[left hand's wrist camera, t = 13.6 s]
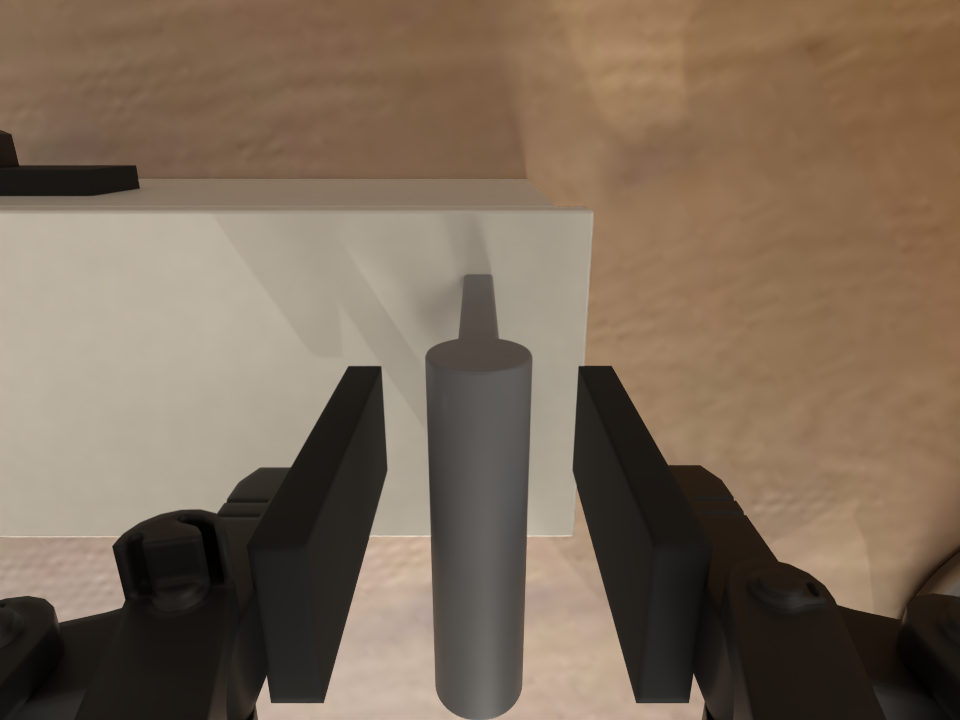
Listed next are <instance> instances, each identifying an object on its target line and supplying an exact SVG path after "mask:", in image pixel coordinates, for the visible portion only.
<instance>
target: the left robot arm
mask: <svg viewBox="0 0 960 720" xmlns="http://www.w3.org/2000/svg"><path fill="white" fill-rule="evenodd" d="M387 471H388V468H387V451H386V434H385V417H384V400H383V383H382V366H348V368H347V369H346V371H345V373H344V375H343V376H342V378H341V380H340V382H339V383H338V385H337V387H336V389H335V391H334V392H333V394H332V396H331V398H330V399H329V401H328V403H327V405H326V406H325V408H324V410H323V412H322V413H321V415H320V417H319V419H318V420H317V422H316V424H315V426H314V428H313V429H312V431H311V433H310V435H309V436H308V438H307V440H306V442H305V443H304V445H303V447H302V449H301V450H300V452H299V454H298V456H297V457H296V459H295V461H294V463H293V464H292V466H291V467H260V468H258V469H257V470H256V471H254V472H253V473H251V474H250V475H248V476H247V477H245V478H244V479H243V480H241V481H240V482H238V484H237V485H236V487H235V488H234V490H233V491H232V493H231V494H230V495H229V497H228V498H227V503H224V504H223V506H222V507H221V508H220V510H219V511H218V513H217V514H216V513H213V512H209V511H206V510H202V509H188V510H177V511H173V512H168V513H163V514H160V515H157V516H155V517H152V518H150V519H147V520H145V521H142V522H140V523H138V524H137V525H135V526H134V527H132V528H131V529H129V530H128V531H126V532H125V533H123V534H122V535H121V537H120V538H119V539H118V540H117V541H116V543H115V544H114V545H113V546H112V547H113V551H114V555H115V559H116V563H117V567H118V571H119V575H120V579H121V584H122V588H123V592H124V596H125V603H124V605H123V607H122V608H120V609H117V610H113V611H110V612H106V613H102V614H97V615H93V616H88V617H84V618H79V619H74V620H70V621H65V622H61V623H58V619H57V616H56V613H55V609H54V607H53V606H52V605H51V604H50V603H49V602H48V601H46V600H45V599H42V598H37V597H31V596H24V597H15V598H7V599H3V600H0V720H258V716H257V710H256V701H257V699H258V696H259V693H260V691H261V688H262V686H263V683H264V681H265V678H266V676H267V679H268V686H269V692H270V699H271V703H324V700H325V696H326V693H327V689H328V685H329V682H330V678H331V674H332V671H333V667H334V663H335V660H336V656H337V653H338V649H339V645H340V642H341V638H342V634H343V631H344V627H345V623H346V620H347V616H348V613H349V609H350V605H351V602H352V598H353V594H354V591H355V587H356V583H357V580H358V576H359V573H360V569H361V565H362V562H363V558H364V554H365V551H366V547H367V543H368V540H369V536H370V533H371V529H372V525H373V522H374V518H375V514H376V511H377V507H378V503H379V500H380V496H381V493H382V489H383V485H384V482H385V478H386V474H387ZM572 471H573V474H574V478H575V482H576V485H577V489H578V493H579V496H580V500H581V503H582V507H583V511H584V514H585V518H586V522H587V525H588V529H589V533H590V536H591V540H592V543H593V547H594V551H595V554H596V558H597V562H598V565H599V569H600V573H601V576H602V580H603V583H604V587H605V591H606V594H607V598H608V602H609V605H610V609H611V613H612V616H613V620H614V624H615V627H616V631H617V634H618V638H619V642H620V645H621V649H622V653H623V656H624V660H625V664H626V667H627V671H628V674H629V678H630V682H631V685H632V689H633V693H634V696H635V700H636V703H689V698H690V692H691V686H692V679H693V673H694V675H695V678H696V680H697V683H698V685H699V688H700V690H701V693H702V695H703V698H704V700H705V704H704V710H703V716H702V720H960V552H959V553H958V554H956V555H955V556H954V557H952V558H951V559H950V560H948V561H947V562H946V563H945V564H944V565H943V566H942V567H941V568H939V569H938V570H937V571H936V572H935V573H934V574H933V575H932V576H931V577H930V579H929V580H928V581H927V582H926V583H925V584H924V586H923V587H922V588H921V589H920V590H919V592H918V593H917V595H916V596H915V598H913V599H912V600H911V601H910V602H909V603H908V604H907V606H906V609H905V612H904V616H903V619H902V620H898V619H894V618H889V617H884V616H880V615H875V614H871V613H866V612H862V611H857V610H853V609H849V608H846V607H842V606H839V605H837V604H836V602H835V599H834V598H833V596H832V595H831V594H830V592H829V591H828V590H827V588H826V587H825V585H823V584H822V583H821V582H819V581H818V580H817V579H815V578H814V577H813V576H811V575H810V574H809V573H807V572H805V571H803V570H800V569H798V568H796V567H794V566H792V565H790V564H786V563H782V562H778V560H777V559H776V557H775V556H774V554H773V553H772V552H771V550H770V549H769V547H768V546H767V544H766V543H765V542H764V540H763V539H762V537H761V536H760V534H759V533H758V532H757V530H756V529H755V527H754V526H753V524H752V523H751V521H750V520H749V519H748V517H747V516H746V515H744V511H743V510H742V509H741V507H740V506H739V504H738V503H737V501H734V497H733V496H732V494H731V493H730V491H729V490H728V489H727V487H726V486H725V484H724V483H723V481H722V480H721V479H719V478H718V477H716V476H715V475H713V474H712V473H711V472H709V471H708V470H706V469H705V468H703V467H702V466H700V465H667V463H666V461H665V459H664V457H663V456H662V454H661V452H660V450H659V449H658V447H657V445H656V443H655V442H654V440H653V438H652V436H651V435H650V433H649V431H648V429H647V428H646V426H645V424H644V422H643V420H642V419H641V417H640V415H639V413H638V412H637V410H636V408H635V406H634V405H633V403H632V401H631V399H630V398H629V396H628V394H627V392H626V391H625V389H624V387H623V385H622V383H621V382H620V380H619V378H618V376H617V375H616V373H615V371H614V369H613V368H612V366H578V383H577V400H576V417H575V434H574V451H573V468H572Z"/></svg>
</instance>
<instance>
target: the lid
mask: <svg viewBox="0 0 960 720" xmlns="http://www.w3.org/2000/svg"><path fill="white" fill-rule="evenodd" d="M593 220H594V213H593V211H592V210H590V209H589V208H587V207H403V206H0V537H121V535H122V534H123V533H125V532H126V531H128V530H129V529H131V528H132V527H134V526H135V525H137V524H138V523H140V522H142V521H145V520H147V519H150V518H152V517H155V516H157V515H160V514H163V513H168V512H173V511H177V510H188V509H202V510H206V511H209V512H213V513H216V514H217V513H218V511H219V510H220V508H221V507H222V506H223V504H224V503H227V498H228V497H229V495H230V494H231V493H232V491H233V490H234V488H235V487H236V485H237V484H238V482H240V481H241V480H243V479H244V478H245V477H247V476H248V475H250V474H251V473H253V472H254V471H256V470H257V469H258V468H260V467H291V466H292V464H293V463H294V461H295V459H296V457H297V456H298V454H299V452H300V450H301V449H302V447H303V445H304V443H305V442H306V440H307V438H308V436H309V435H310V433H311V431H312V429H313V428H314V426H315V424H316V422H317V420H318V419H319V417H320V415H321V413H322V412H323V410H324V408H325V406H326V405H327V403H328V401H329V399H330V398H331V396H332V394H333V392H334V391H335V389H336V387H337V385H338V383H339V382H340V380H341V378H342V376H343V375H344V373H345V371H346V369H347V368H348V366H382V383H383V400H384V417H385V434H386V451H387V468H388V471H387V474H386V478H385V482H384V485H383V489H382V493H381V496H380V500H379V503H378V507H377V511H376V514H375V518H374V522H373V525H372V529H371V533H370V536H369V537H431V557H432V589H433V620H434V651H435V682H436V691H437V694H438V697H439V699H440V700H441V702H442V703H443V705H444V706H445V707H446V708H447V709H448V710H449V711H451V712H452V713H454V714H455V715H457V716H459V717H462V718H465V719H469V720H489V719H493V718H496V717H498V716H501V715H502V714H504V713H506V712H507V711H508V710H509V709H511V708H512V706H513V705H514V704H515V703H516V701H517V700H518V698H519V696H520V693H521V690H522V673H523V642H524V610H525V578H526V547H527V536H573V534H574V523H575V507H576V491H577V485H576V482H575V478H574V474H573V471H572V468H573V451H574V434H575V417H576V400H577V383H578V366H584V363H585V347H586V331H587V315H588V299H589V284H590V268H591V252H592V236H593Z"/></svg>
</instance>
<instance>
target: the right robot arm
mask: <svg viewBox="0 0 960 720" xmlns="http://www.w3.org/2000/svg"><path fill="white" fill-rule="evenodd" d="M134 189H140V185H139V180H138V175H137V169H136V166H19V163H18V159H17V155H16V151H15V147H14V143H13V139H12V135H11V134H9V133H6V132H4V131H1V130H0V196H96V195H102V194H109V193H115V192H121V191H128V190H134Z"/></svg>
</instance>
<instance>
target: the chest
mask: <svg viewBox="0 0 960 720" xmlns="http://www.w3.org/2000/svg"><path fill="white" fill-rule="evenodd" d="M138 180H139V185H140V189H134V190H128V191H121V192H115V193H109V194H102V195H96V196H0V206H403V207H557V206H556V205H555V204H554V203H553V202H551V201H550V200H549V199H548V198H547V197H546V196H545V195H544V194H543V193H542V192H541V191H539V190H538V189H537V188H536V187H535V186H534V185H533V184H532V183H531V182H530V181H529V180H528V179H138Z"/></svg>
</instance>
